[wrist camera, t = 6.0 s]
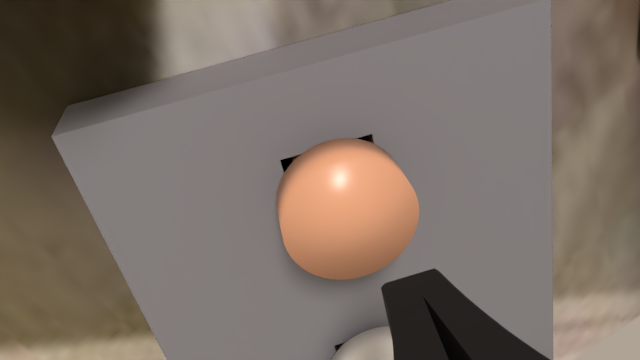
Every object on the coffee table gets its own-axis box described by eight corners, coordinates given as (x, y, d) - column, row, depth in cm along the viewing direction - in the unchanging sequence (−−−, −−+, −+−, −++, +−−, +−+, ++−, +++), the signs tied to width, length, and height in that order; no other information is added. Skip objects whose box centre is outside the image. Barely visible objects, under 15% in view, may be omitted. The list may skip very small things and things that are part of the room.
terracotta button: (373, 95, 20) (409, 143, 17) (391, 197, 23) (426, 257, 19) (253, 129, 20) (265, 184, 17) (284, 228, 22) (300, 295, 19)
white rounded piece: (404, 276, 25) (436, 341, 22) (416, 344, 28) (448, 413, 24) (308, 305, 25) (326, 375, 22) (329, 371, 27) (348, 445, 24)
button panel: (513, -17, 20) (550, -2, 18) (527, 337, 29) (553, 374, 27) (67, 105, 19) (51, 136, 17) (225, 430, 29) (227, 476, 26)
